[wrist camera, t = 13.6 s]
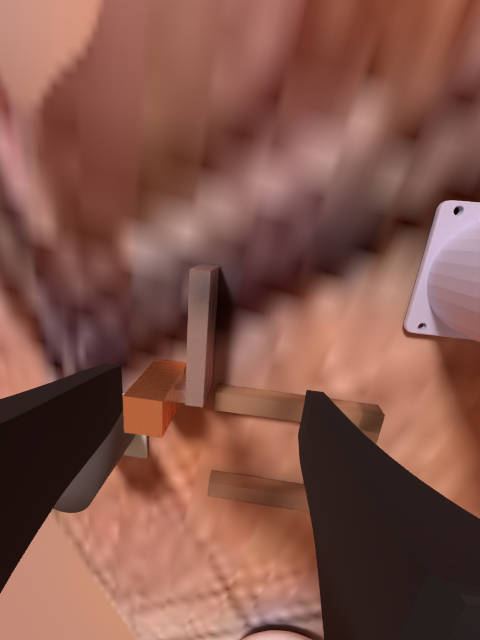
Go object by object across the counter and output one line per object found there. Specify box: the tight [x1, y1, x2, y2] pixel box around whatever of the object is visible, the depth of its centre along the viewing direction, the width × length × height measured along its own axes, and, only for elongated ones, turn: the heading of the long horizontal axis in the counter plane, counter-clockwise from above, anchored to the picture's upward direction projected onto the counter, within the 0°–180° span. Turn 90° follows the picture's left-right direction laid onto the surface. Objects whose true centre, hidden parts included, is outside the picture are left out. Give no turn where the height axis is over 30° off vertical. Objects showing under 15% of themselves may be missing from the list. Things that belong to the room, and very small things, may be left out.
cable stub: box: [53, 412, 136, 513], centre depth 20 cm, size 4×4×6 cm
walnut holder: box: [208, 384, 385, 512], centre depth 22 cm, size 12×10×1 cm
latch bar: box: [123, 264, 220, 438], centre depth 17 cm, size 4×10×5 cm, turn 174°
